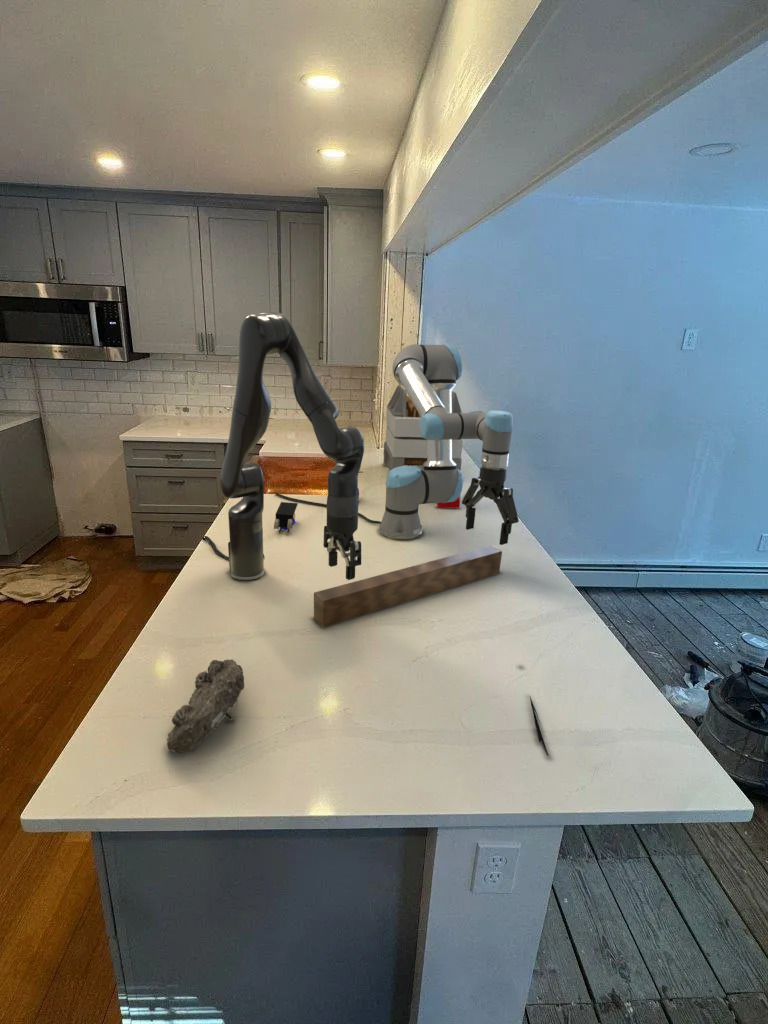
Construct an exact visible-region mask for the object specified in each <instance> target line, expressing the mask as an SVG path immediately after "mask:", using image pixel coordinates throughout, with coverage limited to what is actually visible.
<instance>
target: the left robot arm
mask: <svg viewBox="0 0 768 1024" xmlns="http://www.w3.org/2000/svg"><path fill="white" fill-rule="evenodd" d="M297 335H298V334H297V333H296V331H295V328H294V327H293V325H292V323H291V322H290V320H289V319H288V318H287V317H286V315H284V314H283V313H281V312H277V311H270V312H269V311H268V312H260V313H259V312H258V313H251V314H249V315H247V316H245V318H244V319H243V320H242V323H241V326H240V330H239V343H238V368H237V378H236V386H235V387H236V388H235V393H234V394H235V395H234V399H233V404H232V412H231V420H230V427H229V428H230V429H229V435H228V441H227V445H226V450H225V454H224V457H223V461H222V465H221V469H220V474H219V475H220V476H219V485H220V490H221V493H222V495H224V497H226V498H228V499H240V498H241V499H240V500H239V501H238V502H236V504H234V505H232V506H231V507H230V508H229V509H228V513H227V515H228V531H229V532H228V533H229V541H228V542H227V549H228V551H227V552H228V556H226V554H223V553H222V552H221V551H220V550H219V549H218V548H217V545H216V544H215V542H214V541H213V540H212V539H211V538H210V537H209V536H207V535H204V536H202V538H201V541H204V540H206V541H207V542H208V543H209V544H210V545H211V546H212V549H213V550H214V552H215V553H216V554H217V555H218V556H219V557H220V558H223V559H225V560H227V561H228V568H229V569H228V570H229V573H230V576H231V577H232V578H233V579H235V580H238V581H254V580H257V579H260V578H261V577H263V576H264V574H265V565H264V563H265V562H264V561H265V554H264V533H263V531H264V530H263V512H264V508H265V507H264V506H265V504H264V503H265V477H264V472H263V470H262V467H261V465H259V463H258V462H256V461H247V462H246V460H247V459H246V458H247V457H248V455H249V454H250V452H252V450H253V448H254V447H256V445H257V444H258V443H259V441H260V440H261V439H262V438H263V437H264V435H265V433H266V431H267V429H268V426H269V423H270V417H271V411H272V400H271V397H270V393H269V392H268V389H267V388H266V385H265V382H264V378H263V375H264V367H265V361H266V359H267V358H266V357H267V356H268V355H273V354H278V355H279V356H280V357H281V358H282V359H283V360H284V362H285V364H286V365H287V367H288V369H289V372H290V377H291V381H292V389H293V395H294V398H295V401H296V402H297V404H298V406H299V407H300V409H301V410H302V412H303V413H304V415H305V416H306V417H307V419H308V420H309V422H310V423H311V425H312V428H313V431H314V435H315V438H316V440H317V442H318V445H319V447H320V449H321V451H322V453H323V454H324V455H325V456H326V457H327V458H328V459H330V460H331V461H334V462H336V463H335V465H334V466H333V468H331V469H330V470H329V471H328V475H327V496H326V497H327V498H326V504H327V507H326V525H324V526H323V543H322V544H323V545H322V546H323V548H324V549H325V548H326V552H327V553H328V566H329V567H331V568H332V567H337V566H338V551H339V552H340V555H341V557H342V559H344V561H345V579H346V580H347V581H351V580H354V579H355V578H356V567H357V566H361V565H362V542H361V541H360V540H358V541H355V538H354V533H356V532H357V531H358V529H359V528H358V527H359V516H358V513H359V499H358V494H357V491H358V489H359V487H358V486H359V484H358V483H359V479H358V478H359V473H360V470H361V466H362V462H363V457H364V454H365V439H364V436H363V434H362V432H361V431H360V429H359V428H357V427H355V426H352V425H351V426H349V425H348V426H344V427H341V428H340V427H339V426H338V423H337V421H336V420H337V419H338V417H339V414H340V413H339V409H338V407H337V405H336V403H335V402H334V401H333V399H332V397H331V396H330V394H329V393H328V392H327V390H326V389H325V387H324V386H323V384H322V383H321V382H320V380H319V378H318V376H317V375H316V372H315V370H314V369H313V367H312V365H311V362H310V361H309V358H308V356H307V353H306V352H305V350H304V348H303V346H302V344H301V342H300V340H299V338H298V336H297ZM204 537H205V538H204ZM328 540H329V541H328Z"/></svg>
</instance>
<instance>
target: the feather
mask: <svg viewBox="0 0 768 1024" xmlns="http://www.w3.org/2000/svg"><path fill="white" fill-rule="evenodd" d="M529 701H530V706H531V710H532V715H533V721H534V726H535V729H536V733H537V738H538V743H539V744H540V743H541V744H542V746H543V748H544V750H545V752H546V755H547V756H549V753H548V750H547V747H546V744H547V746H549V745H548V744H549V743H546V742H545V740H544V738H546V737H547V736H546V734H545V731H544V727H543V726H540V724H542V722H541V721H540V717H539V715H538V712H537V710H536V708H535V705H534V702H533V700H532V698H531V696H529ZM545 743H546V744H545Z"/></svg>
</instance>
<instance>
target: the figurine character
mask: <svg viewBox="0 0 768 1024" xmlns="http://www.w3.org/2000/svg"><path fill="white" fill-rule="evenodd" d="M297 507H298V502H287V501H285V502H284V501H281V502H280V504H279V506H278V508H277V510H276V512H275V519H274V523H273V528H274V529H275V530H278V533H279V534H281V533H282V531H286V534H289V533H290V530H292V529H293V527H294V526H295V525H296V524H297V521H296V513H295V512H296V510H297Z"/></svg>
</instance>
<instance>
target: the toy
mask: <svg viewBox="0 0 768 1024" xmlns="http://www.w3.org/2000/svg"><path fill="white" fill-rule="evenodd" d="M460 504H461V494H460V496H459V497H458V499H457V500H455V501H453V502H447V503H436V508H447V509H448V508H449V509H450V508H452V509H460V507H461V505H460Z"/></svg>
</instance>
